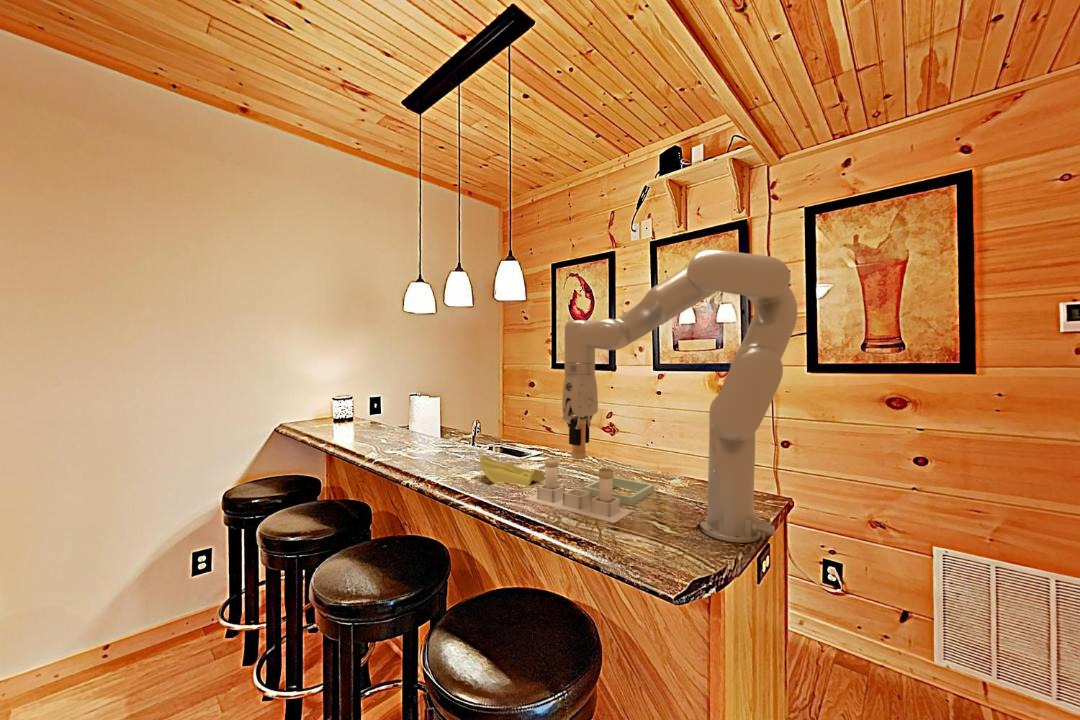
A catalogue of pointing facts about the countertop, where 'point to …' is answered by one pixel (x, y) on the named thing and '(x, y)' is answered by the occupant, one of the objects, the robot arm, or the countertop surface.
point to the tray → (641, 487)
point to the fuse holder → (580, 503)
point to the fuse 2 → (605, 485)
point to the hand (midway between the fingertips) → (579, 442)
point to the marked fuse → (580, 451)
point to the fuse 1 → (551, 473)
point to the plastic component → (509, 473)
